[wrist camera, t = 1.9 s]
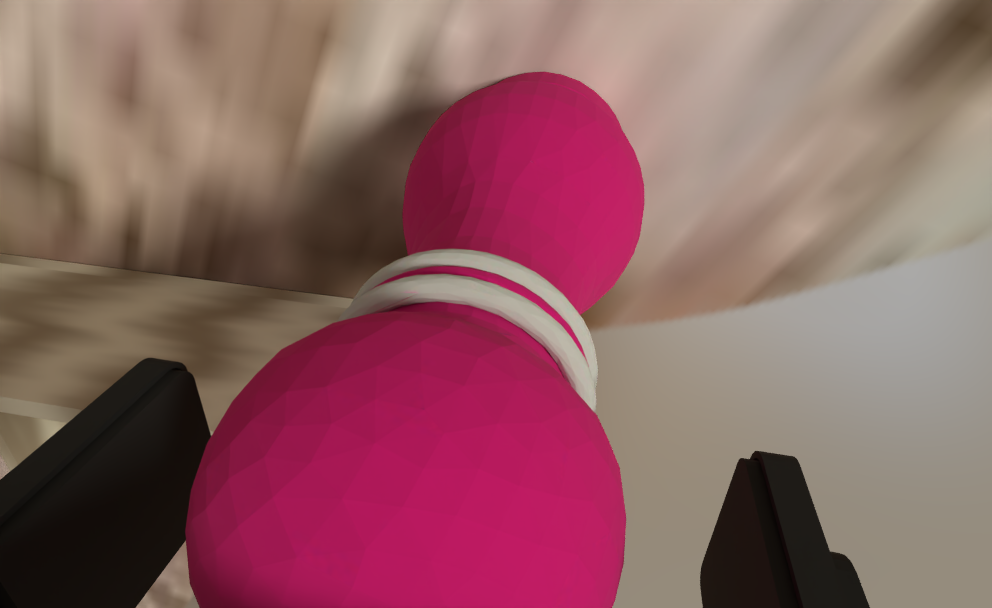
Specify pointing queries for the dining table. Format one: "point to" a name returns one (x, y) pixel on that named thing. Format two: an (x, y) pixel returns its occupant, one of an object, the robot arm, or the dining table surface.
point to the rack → (131, 338)
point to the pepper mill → (445, 389)
